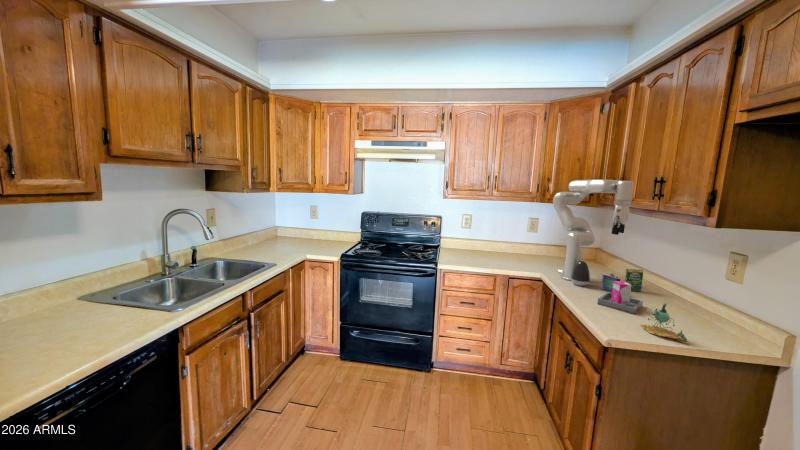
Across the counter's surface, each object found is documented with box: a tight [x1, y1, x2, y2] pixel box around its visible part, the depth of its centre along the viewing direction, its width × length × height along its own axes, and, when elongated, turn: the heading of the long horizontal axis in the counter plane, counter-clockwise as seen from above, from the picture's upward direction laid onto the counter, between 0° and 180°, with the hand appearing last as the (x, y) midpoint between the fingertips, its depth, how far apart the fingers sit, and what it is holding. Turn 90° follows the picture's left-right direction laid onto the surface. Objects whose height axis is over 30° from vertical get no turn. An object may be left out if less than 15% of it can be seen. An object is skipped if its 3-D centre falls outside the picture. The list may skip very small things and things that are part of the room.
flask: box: [600, 272, 621, 293], centre depth 182 cm, size 10×3×12 cm, turn 24°
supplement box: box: [611, 280, 632, 306], centre depth 161 cm, size 6×6×12 cm
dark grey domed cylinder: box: [571, 260, 591, 287], centre depth 193 cm, size 10×10×15 cm
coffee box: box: [624, 268, 644, 293], centre depth 185 cm, size 8×3×13 cm, turn 66°
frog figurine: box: [640, 303, 689, 345], centre depth 131 cm, size 10×18×15 cm, turn 13°
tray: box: [597, 291, 644, 315], centre depth 162 cm, size 16×16×3 cm
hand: (617, 233), depth 174 cm, fingers open, 9 cm apart
